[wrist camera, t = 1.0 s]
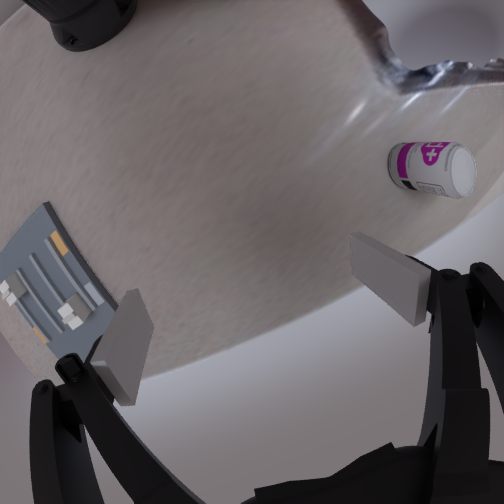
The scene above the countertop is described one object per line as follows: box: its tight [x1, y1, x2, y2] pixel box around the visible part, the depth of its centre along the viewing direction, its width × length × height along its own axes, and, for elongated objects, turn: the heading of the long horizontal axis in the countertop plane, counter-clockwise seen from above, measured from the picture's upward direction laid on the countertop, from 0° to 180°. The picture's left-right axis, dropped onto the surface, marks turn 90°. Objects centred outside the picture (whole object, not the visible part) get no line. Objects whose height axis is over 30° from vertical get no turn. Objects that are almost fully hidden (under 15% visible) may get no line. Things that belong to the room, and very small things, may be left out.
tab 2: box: [57, 292, 92, 330], centre depth 35 cm, size 4×3×5 cm
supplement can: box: [388, 142, 477, 199], centre depth 34 cm, size 8×8×15 cm
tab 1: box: [0, 272, 28, 306], centre depth 32 cm, size 4×3×5 cm
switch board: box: [0, 202, 118, 361], centre depth 37 cm, size 26×20×3 cm
